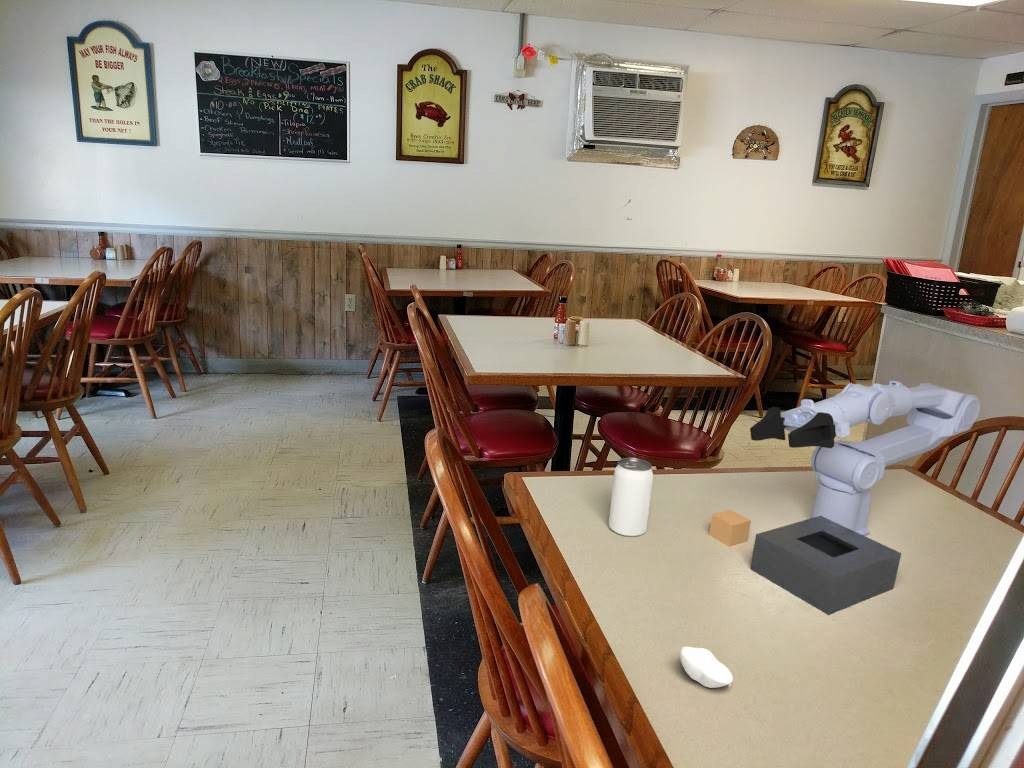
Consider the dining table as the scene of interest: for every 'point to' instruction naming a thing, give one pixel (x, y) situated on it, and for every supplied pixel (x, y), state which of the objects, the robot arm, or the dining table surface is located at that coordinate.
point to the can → (631, 497)
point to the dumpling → (705, 667)
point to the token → (729, 528)
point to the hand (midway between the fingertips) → (770, 437)
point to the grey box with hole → (825, 563)
